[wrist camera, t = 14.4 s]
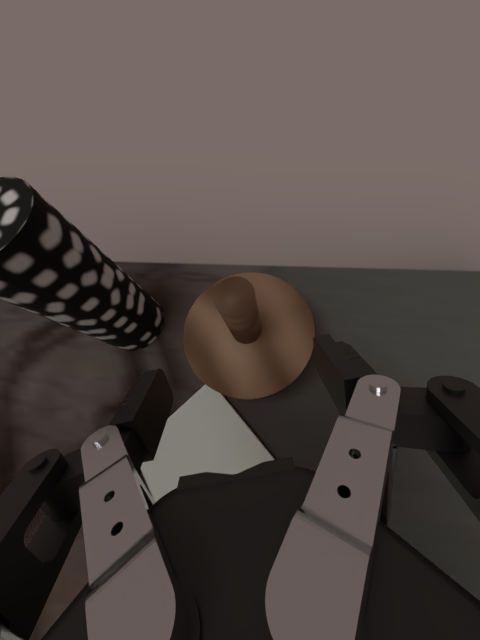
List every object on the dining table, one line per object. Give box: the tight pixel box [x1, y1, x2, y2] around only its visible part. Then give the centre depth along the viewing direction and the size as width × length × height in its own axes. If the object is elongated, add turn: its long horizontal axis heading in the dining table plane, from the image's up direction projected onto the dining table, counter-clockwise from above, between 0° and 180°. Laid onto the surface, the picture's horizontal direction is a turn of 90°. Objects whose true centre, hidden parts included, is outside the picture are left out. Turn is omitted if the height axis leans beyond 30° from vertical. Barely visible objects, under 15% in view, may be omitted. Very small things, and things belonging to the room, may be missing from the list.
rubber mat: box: [141, 384, 275, 502], centre depth 26 cm, size 16×16×1 cm
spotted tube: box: [0, 177, 164, 351], centre depth 25 cm, size 8×8×20 cm
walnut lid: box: [183, 272, 315, 399], centre depth 22 cm, size 14×14×9 cm
